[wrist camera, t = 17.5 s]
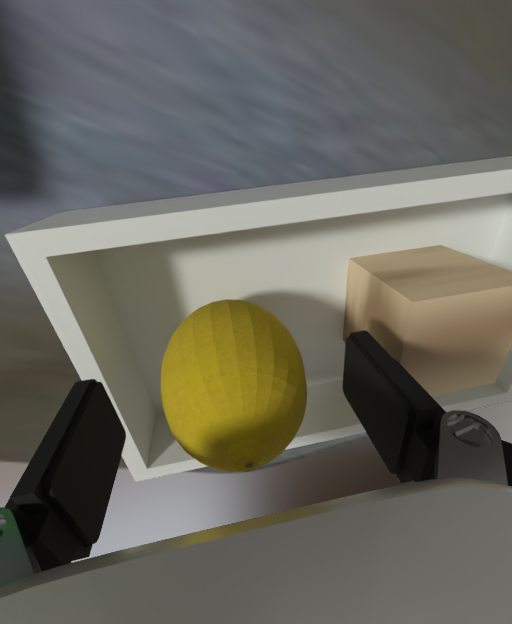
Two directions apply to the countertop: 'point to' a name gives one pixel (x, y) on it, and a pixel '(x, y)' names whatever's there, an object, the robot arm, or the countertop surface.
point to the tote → (250, 280)
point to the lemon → (233, 386)
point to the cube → (433, 314)
